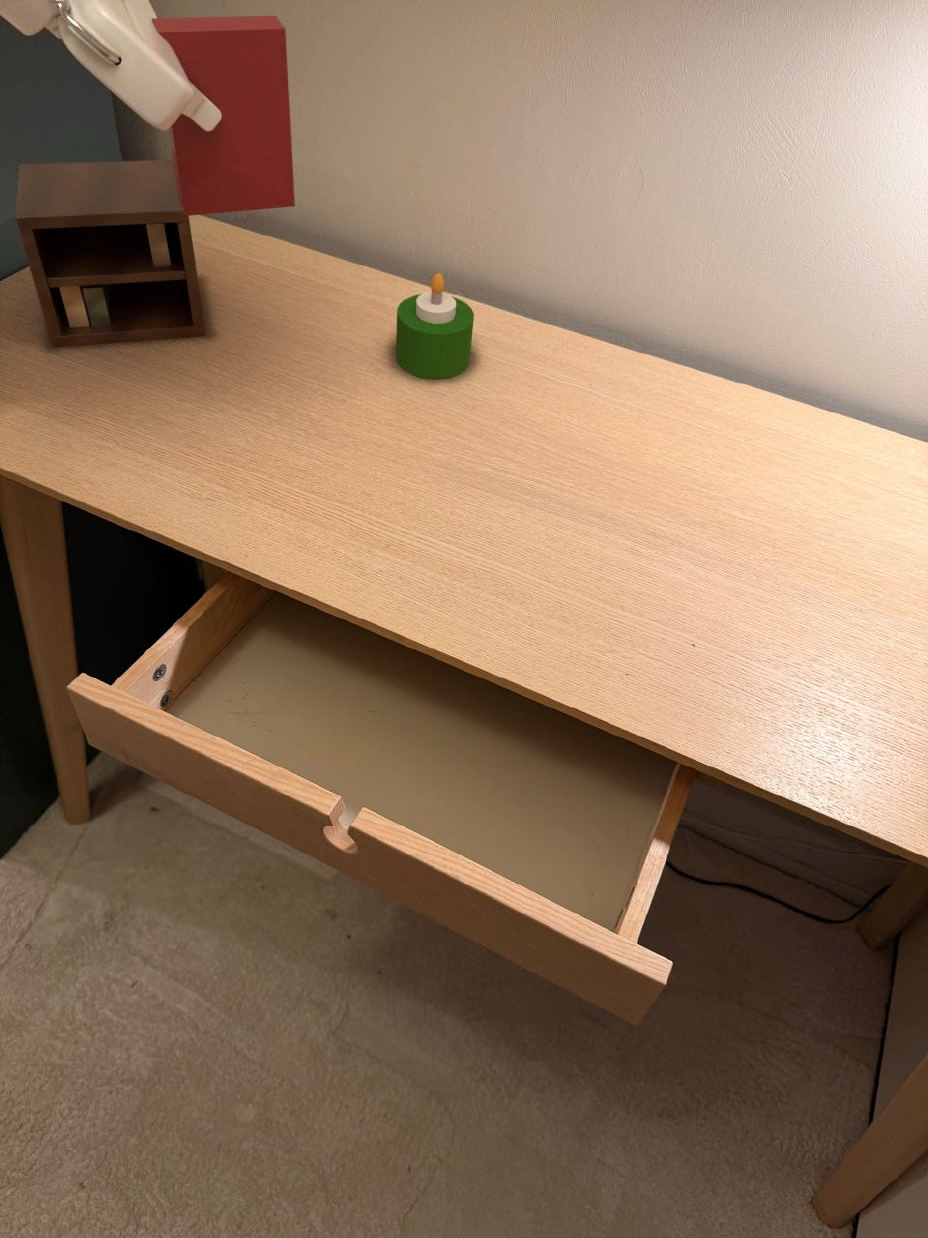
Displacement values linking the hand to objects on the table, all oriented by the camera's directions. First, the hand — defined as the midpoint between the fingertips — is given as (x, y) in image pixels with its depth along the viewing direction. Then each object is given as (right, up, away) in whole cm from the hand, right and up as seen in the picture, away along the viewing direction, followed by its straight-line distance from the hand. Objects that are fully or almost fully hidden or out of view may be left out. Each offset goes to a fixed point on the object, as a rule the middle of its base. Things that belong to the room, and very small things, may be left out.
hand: (209, 109), depth 69 cm
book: (+1, -4, +6) cm, 7 cm away
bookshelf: (-19, -4, +34) cm, 39 cm away
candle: (+16, -10, +33) cm, 38 cm away
